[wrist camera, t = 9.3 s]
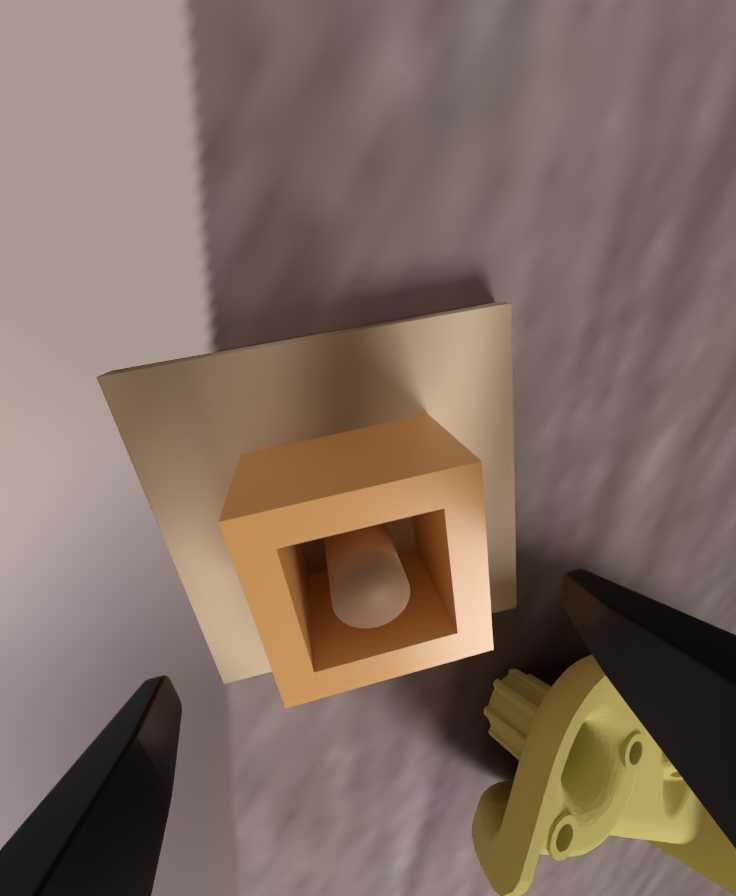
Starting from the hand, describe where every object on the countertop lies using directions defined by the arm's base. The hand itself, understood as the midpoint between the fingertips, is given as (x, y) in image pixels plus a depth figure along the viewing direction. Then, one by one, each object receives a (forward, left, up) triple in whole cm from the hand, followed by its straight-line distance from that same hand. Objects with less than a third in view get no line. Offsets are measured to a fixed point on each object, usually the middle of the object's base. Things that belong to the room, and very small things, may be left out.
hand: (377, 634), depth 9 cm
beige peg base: (0, 0, -6) cm, 6 cm away
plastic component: (-11, +16, -7) cm, 20 cm away
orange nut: (0, 0, -5) cm, 5 cm away
